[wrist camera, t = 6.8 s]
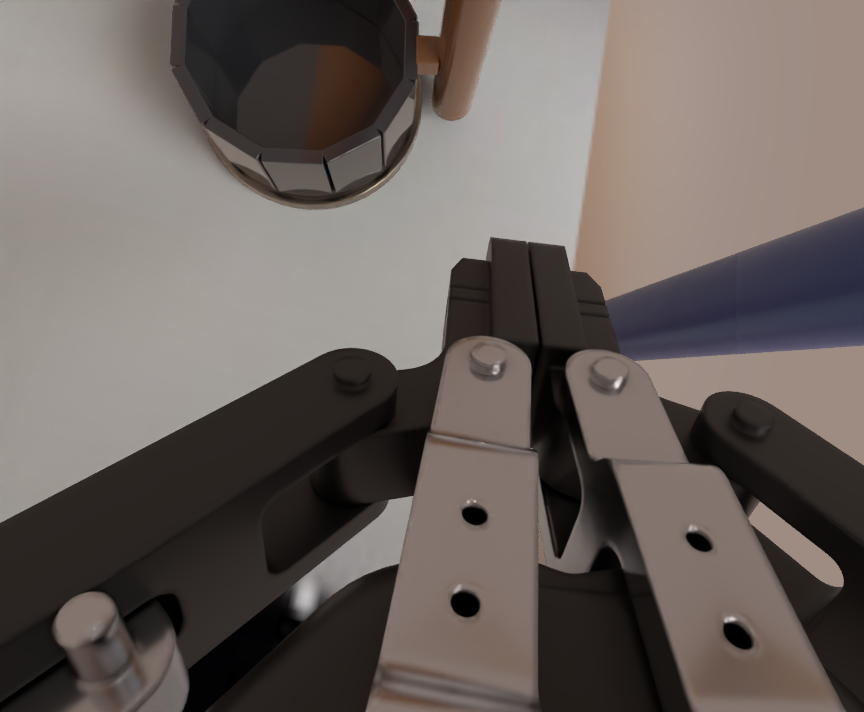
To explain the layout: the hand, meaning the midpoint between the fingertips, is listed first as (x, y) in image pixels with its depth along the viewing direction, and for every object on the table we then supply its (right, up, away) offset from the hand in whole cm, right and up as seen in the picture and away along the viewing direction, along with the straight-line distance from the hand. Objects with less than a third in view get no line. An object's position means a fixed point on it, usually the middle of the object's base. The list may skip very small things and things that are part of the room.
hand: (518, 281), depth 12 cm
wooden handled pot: (-6, +11, +17) cm, 21 cm away
